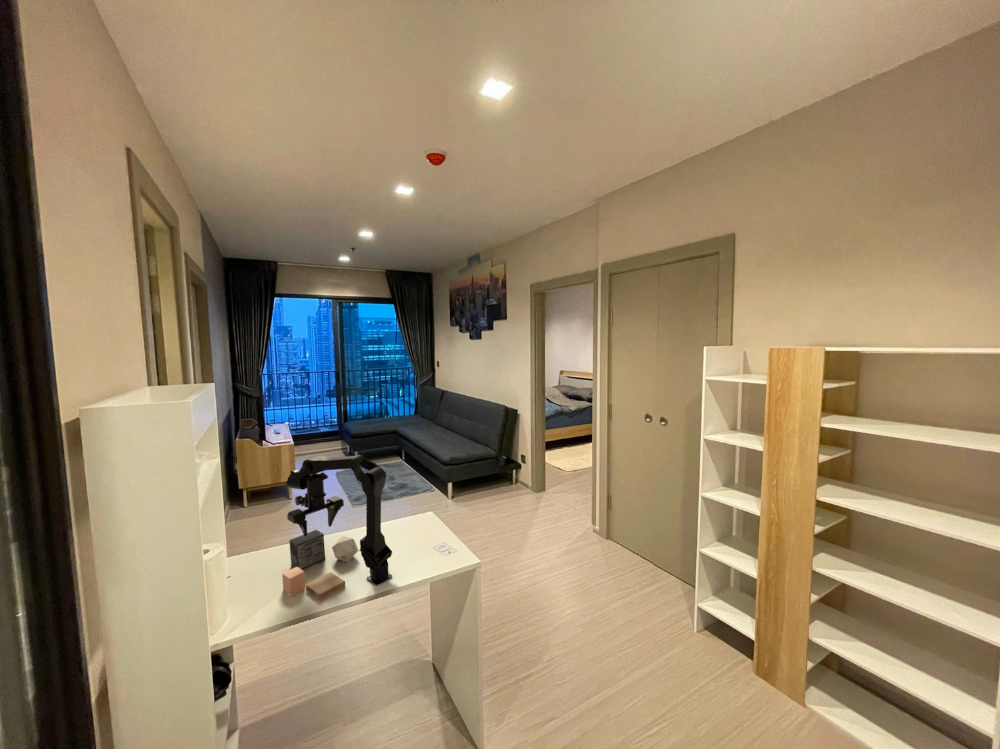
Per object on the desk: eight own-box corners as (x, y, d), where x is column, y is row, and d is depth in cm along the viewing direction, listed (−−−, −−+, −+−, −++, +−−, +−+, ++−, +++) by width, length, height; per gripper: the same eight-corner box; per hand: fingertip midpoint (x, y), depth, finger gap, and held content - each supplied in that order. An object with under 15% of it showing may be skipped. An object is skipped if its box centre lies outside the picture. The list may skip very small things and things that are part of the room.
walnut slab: (345, 586, 138) (345, 581, 138) (320, 600, 131) (320, 594, 131) (330, 577, 144) (330, 571, 143) (306, 590, 137) (305, 584, 136)
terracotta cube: (305, 588, 138) (304, 571, 137) (290, 595, 134) (289, 578, 133) (298, 582, 141) (297, 566, 140) (283, 590, 137) (282, 573, 136)
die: (335, 569, 149) (351, 548, 149) (323, 551, 154) (338, 531, 153) (351, 566, 157) (366, 546, 157) (339, 549, 161) (354, 529, 161)
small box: (317, 553, 159) (316, 528, 158) (326, 559, 155) (324, 533, 154) (290, 565, 151) (288, 539, 150) (298, 572, 147) (296, 545, 146)
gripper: (328, 478, 160) (330, 516, 161) (279, 493, 145) (282, 534, 147) (343, 484, 153) (345, 524, 154) (293, 501, 138) (296, 544, 140)
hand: (317, 531), depth 149 cm, fingers open, 9 cm apart
